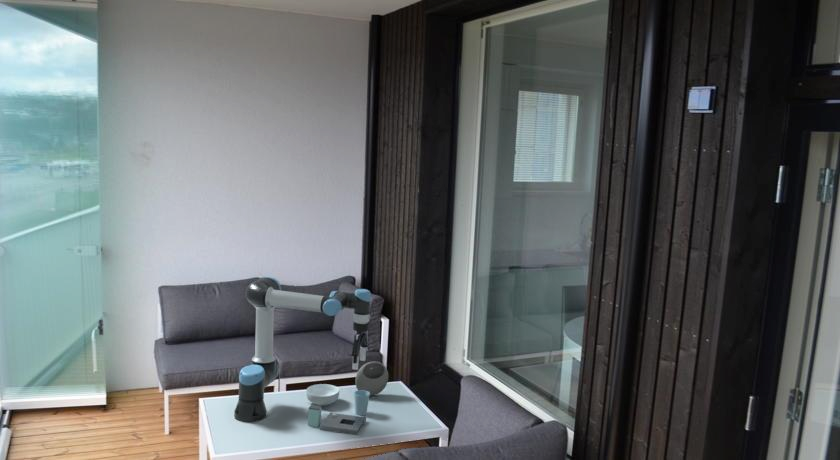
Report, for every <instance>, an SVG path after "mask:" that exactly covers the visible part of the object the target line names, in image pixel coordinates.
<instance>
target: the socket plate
mask: <svg viewBox="0 0 840 460" xmlns="http://www.w3.org/2000/svg"><path fill="white" fill-rule="evenodd" d="M366 422H367V417H366V416H360V415H350V414H345V413H338V412H329V414H328V415H327V416H326V417H325V419H324V420H323V421H321V424H320V426H319V430H320V431H327V432H334V433H341V434H350V435H355V436H357V435H358V434H359V432H361V429H362V428H363V426H364V425H365V423H366Z"/></svg>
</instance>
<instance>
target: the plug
mask: <svg viewBox="0 0 840 460" xmlns="http://www.w3.org/2000/svg"><path fill="white" fill-rule="evenodd" d="M322 407H323V406H319V405H316V404H310V405H309V407H308V412H307V413H308V415H307V427H313V428H320V425H321V423H322V409H323V408H322Z"/></svg>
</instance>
